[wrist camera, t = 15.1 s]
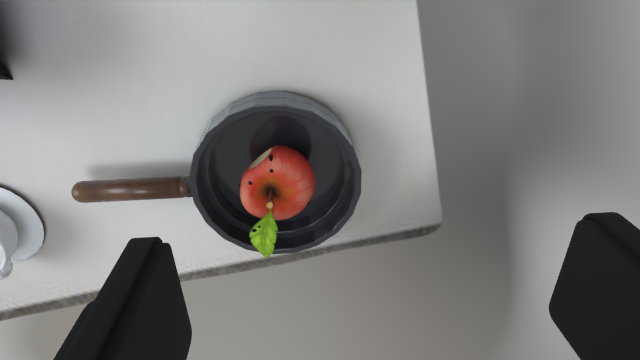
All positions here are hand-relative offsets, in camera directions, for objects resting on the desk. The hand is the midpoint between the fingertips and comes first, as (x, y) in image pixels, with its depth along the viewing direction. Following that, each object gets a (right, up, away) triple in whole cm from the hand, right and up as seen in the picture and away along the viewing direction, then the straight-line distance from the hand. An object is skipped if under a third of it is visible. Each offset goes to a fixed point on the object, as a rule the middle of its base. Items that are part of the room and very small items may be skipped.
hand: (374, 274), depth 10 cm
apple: (-5, +4, +31) cm, 32 cm away
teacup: (-35, -2, +33) cm, 49 cm away
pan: (-6, +4, +32) cm, 33 cm away
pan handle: (-18, +2, +29) cm, 34 cm away
